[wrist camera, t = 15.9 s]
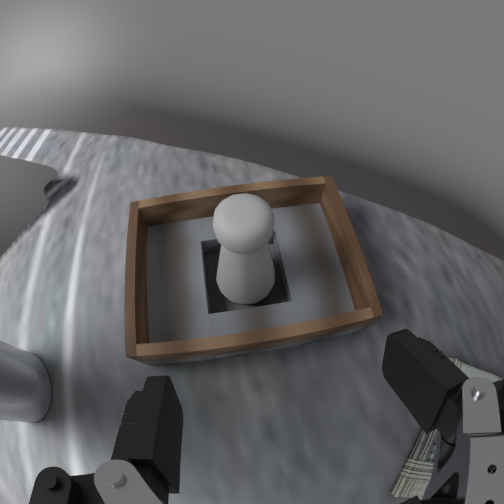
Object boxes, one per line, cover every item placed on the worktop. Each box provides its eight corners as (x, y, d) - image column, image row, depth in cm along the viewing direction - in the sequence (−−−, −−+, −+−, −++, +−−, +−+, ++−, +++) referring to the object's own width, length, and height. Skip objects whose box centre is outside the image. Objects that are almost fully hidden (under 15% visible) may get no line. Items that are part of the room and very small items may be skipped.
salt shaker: (222, 258, 31) (207, 177, 20) (274, 262, 31) (286, 181, 20) (215, 309, 29) (192, 246, 17) (271, 313, 28) (286, 252, 17)
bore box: (149, 365, 26) (126, 356, 20) (146, 232, 33) (130, 202, 28) (359, 331, 27) (383, 314, 22) (320, 208, 35) (331, 176, 30)
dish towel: (380, 495, 18) (393, 503, 16) (442, 356, 26) (458, 351, 23) (474, 506, 14) (487, 509, 11) (517, 393, 21) (532, 389, 19)
